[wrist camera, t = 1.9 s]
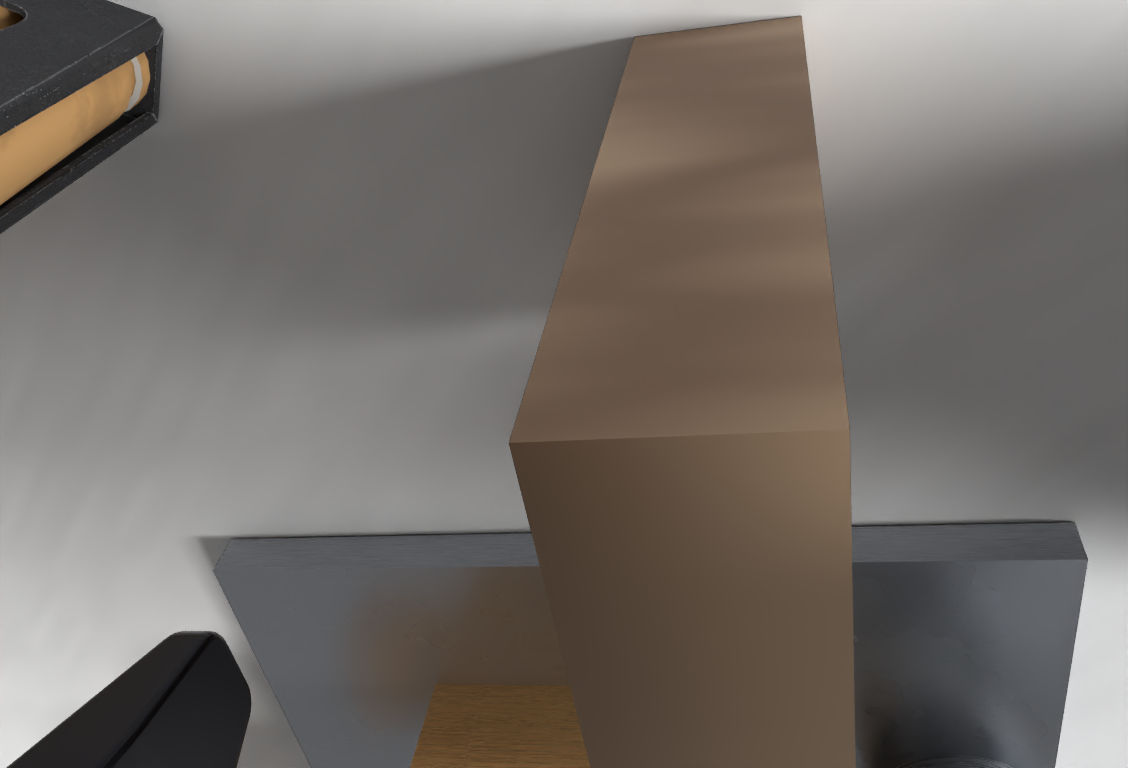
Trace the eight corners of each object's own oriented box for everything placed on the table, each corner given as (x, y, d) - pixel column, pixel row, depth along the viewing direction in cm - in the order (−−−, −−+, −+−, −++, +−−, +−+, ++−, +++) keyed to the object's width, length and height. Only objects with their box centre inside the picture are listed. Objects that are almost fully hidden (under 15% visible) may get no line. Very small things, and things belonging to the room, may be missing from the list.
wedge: (801, 15, 15) (850, 429, 7) (811, 279, 18) (856, 805, 10) (635, 36, 16) (509, 443, 8) (667, 290, 18) (597, 795, 10)
